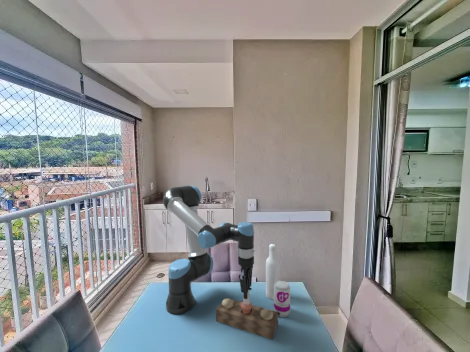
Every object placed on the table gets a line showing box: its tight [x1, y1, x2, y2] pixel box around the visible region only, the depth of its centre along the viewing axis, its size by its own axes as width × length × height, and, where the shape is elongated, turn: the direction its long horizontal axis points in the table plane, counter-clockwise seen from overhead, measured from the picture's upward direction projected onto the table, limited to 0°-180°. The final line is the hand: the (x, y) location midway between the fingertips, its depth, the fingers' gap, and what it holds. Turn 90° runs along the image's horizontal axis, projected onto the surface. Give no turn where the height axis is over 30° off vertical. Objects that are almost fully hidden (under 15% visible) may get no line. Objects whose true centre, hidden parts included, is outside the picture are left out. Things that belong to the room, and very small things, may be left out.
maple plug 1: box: [222, 298, 234, 309], centre depth 109 cm, size 6×6×7 cm
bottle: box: [265, 243, 280, 301], centre depth 125 cm, size 8×8×30 cm
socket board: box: [215, 297, 279, 340], centre depth 105 cm, size 28×10×6 cm, turn 66°
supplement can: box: [273, 280, 291, 318], centre depth 112 cm, size 8×8×15 cm
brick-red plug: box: [240, 300, 253, 315], centre depth 105 cm, size 6×6×7 cm
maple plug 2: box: [261, 308, 273, 321], centre depth 101 cm, size 6×6×7 cm
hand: (246, 303), depth 104 cm, fingers closed
